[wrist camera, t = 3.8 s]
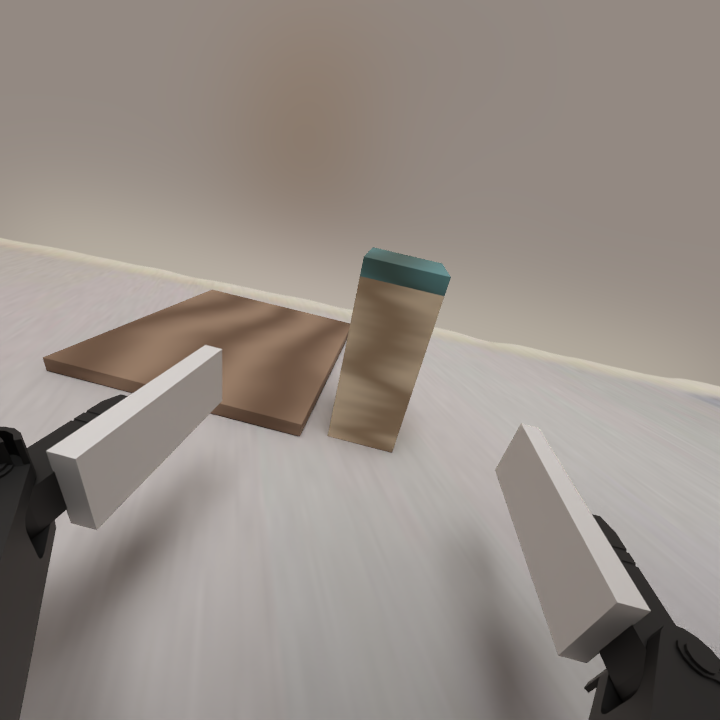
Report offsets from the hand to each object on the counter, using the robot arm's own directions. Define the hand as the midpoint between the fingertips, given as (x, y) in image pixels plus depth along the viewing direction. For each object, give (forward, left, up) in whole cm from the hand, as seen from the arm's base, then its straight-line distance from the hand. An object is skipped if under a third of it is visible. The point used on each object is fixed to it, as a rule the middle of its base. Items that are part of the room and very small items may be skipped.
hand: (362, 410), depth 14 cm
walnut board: (+13, -14, -6) cm, 20 cm away
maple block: (0, -7, -6) cm, 10 cm away
